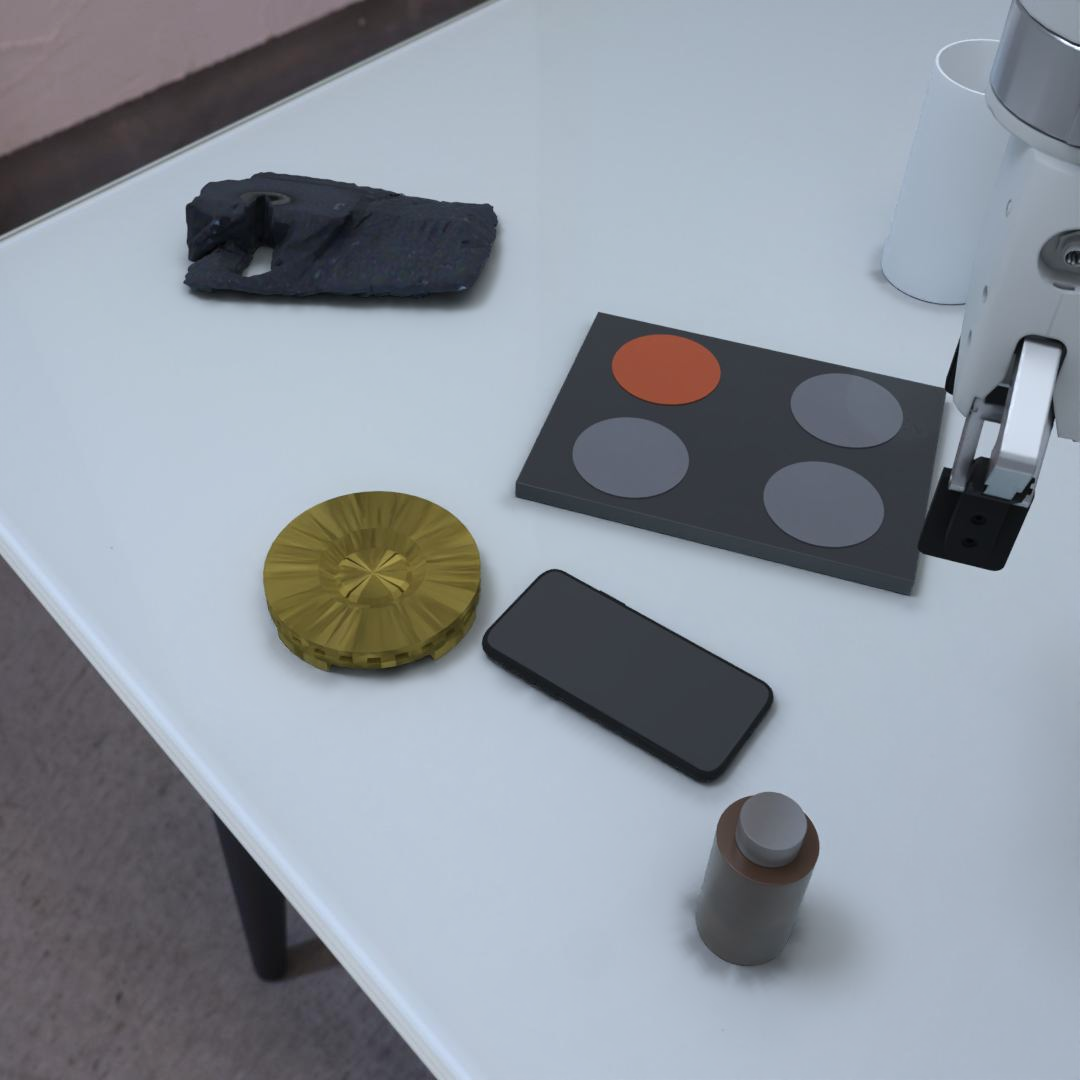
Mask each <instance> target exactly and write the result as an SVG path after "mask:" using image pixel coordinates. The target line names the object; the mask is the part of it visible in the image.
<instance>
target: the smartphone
mask: <svg viewBox="0 0 1080 1080" xmlns="http://www.w3.org/2000/svg"><path fill="white" fill-rule="evenodd" d="M481 647H482V650H483V652H484V653H485V654H486V655H487V656H488V657H490V658H491V659H492V660H494V661H496V662H497V663H499V664H501V665H502V666H503V667H504V668H505V669H507V670H509V671H512V672H515V673H516V674H518V676H519V677H521V678H523V679H524V680H526V681H527V682H529V683H531V684H533V685H534V686H538V687H540V689H541V690H543V691H544V692H546V693H548V694H550V695H551V696H553V697H554V698H556V699H557V698H558V699H560V700H562V701H563V702H565V703H567V704H568V705H570V706H572V707H573V708H575V709H577V710H579V711H580V712H582V713H584V714H585V715H587V716H588V717H591V718H592V719H594V720H596V721H597V722H599V723H601V724H602V725H604V726H606V727H607V728H608V729H611V730H613V731H614V732H616V733H617V734H619V735H621V736H623V737H624V738H626V739H627V740H629V741H631V742H633V743H634V744H636V745H638V746H639V747H641V748H642V749H645V750H647V752H650V753H652V755H655V756H657V757H658V758H660V759H662V760H663V761H664V762H667V763H668V764H670V765H671V766H673V767H675V768H677V769H679V770H680V771H682V772H684V773H685V774H687V775H689V776H690V777H691V778H693V779H695V780H698V781H700V782H701V781H702V782H705V783H707V782H712V781H714V780H717V779H718V778H720V777H721V776H722V775H723V774H724V773H725V772H726V771H727V769H728V768H729V766H730V765H731V764H732V762H733V761H734V759H735V758H736V757H737V755H738V754H739V753H740V751H741V750H742V748H743V747H744V746H745V744H746V743H747V742H748V740H749V739H750V737H751V736H752V735H753V733H754V732H755V730H756V729H757V728H758V726H759V725H760V724H761V722H762V721H763V720H764V718H765V716H766V715H767V714H768V712H769V711H770V709H771V708H772V706H773V702H774V691H773V688H772V687H771V686H770V685H769V684H768V683H767V682H766V681H764V680H762V679H761V678H758V677H756V675H753V674H751V673H750V672H748V671H746V670H744V669H743V668H741V667H739V666H737V665H735V664H733V663H732V662H730V661H728V660H727V659H724V658H722V657H721V656H718V655H717V654H715V653H713V652H712V651H710V650H708V649H706V648H704V647H703V646H701V645H699V644H697V643H695V642H694V641H692V640H690V639H688V638H686V637H685V636H682V635H681V634H679V633H677V632H675V631H673V629H672V630H671V629H670V628H668V627H666V626H664V625H663V624H661V623H659V622H657V621H656V620H654V619H652V618H650V617H648V616H646V615H645V614H643V613H641V612H639V611H638V610H635V609H633V607H630V606H629V605H627V604H626V603H625V602H623V601H621V600H619V599H618V598H616V597H614V596H612V595H610V594H608V593H606V592H604V591H603V590H602V589H600V590H599V589H598V588H596V587H593V585H590V584H588V583H587V582H584V581H583V580H581V579H579V578H577V577H575V576H574V575H572V574H570V573H569V572H567V571H565V570H563V569H559V568H550V569H548V570H547V569H546V570H545V571H544V572H542V573H541V574H539V575H538V576H537V577H536V578H535V579H534V580H533V581H532V582H531V583H530V584H529V585H528V586H527V587H526V588H525V589H524V590H523V592H521V594H520V595H519V596H518V597H517V598H516V599H515V600H513V602H512V603H511V604H510V605H509V606H508V607H507V608H506V609H505V611H503V612H502V613H501V614H500V616H498V617H497V619H496V620H495V621H494V622H493V623H492V624H491V625H490V626H489V627H488V628H487V629H486V630H485V632H484V634H483V636H482V639H481Z"/></svg>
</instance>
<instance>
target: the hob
mask: <svg viewBox="0 0 1080 1080" xmlns="http://www.w3.org/2000/svg"><path fill="white" fill-rule="evenodd" d="M947 394H948V392H947V391H946V390H945V387H941V386H936V385H932V384H927V383H922V382H918V381H913V380H909V379H904V378H900V377H895V376H891V375H887V374H881V373H877V372H874V371H869V370H864V369H859V368H856V367H855V368H854V367H850V366H847V365H841V364H837V363H833V362H828V361H824V360H819V359H814V358H810V357H806V356H802V355H796V354H791V353H787V352H783V351H779V350H774V349H769V348H764V347H760V346H755V345H751V344H747V343H741V342H737V341H733V340H728V339H724V338H719V337H716V336H710V335H705V334H701V333H698V332H697V333H696V332H692V331H688V330H684V329H679V328H674V327H670V326H665V325H661V324H656V323H651V322H647V321H643V320H637V319H634V318H629V317H624V316H619V315H615V314H611V313H606V312H601V311H597V313H596V316H595V318H594V319H593V322H592V324H591V326H590V328H589V330H588V332H587V334H586V336H585V338H584V340H583V342H582V344H581V346H580V348H579V350H578V352H577V355H576V357H575V359H574V361H573V363H572V364H571V367H570V369H569V371H568V373H567V375H566V377H565V379H564V381H563V384H562V385H561V388H560V389H559V392H558V394H557V396H556V398H555V400H554V402H553V405H552V406H551V408H550V410H549V413H548V415H547V417H546V418H545V420H544V423H543V424H542V427H541V429H540V431H539V434H538V435H537V437H536V440H534V444H533V446H532V448H531V450H530V452H529V454H528V456H527V458H526V459H525V462H524V464H523V465H522V468H521V470H520V472H519V475H518V477H517V478H516V481H515V487H514V488H515V491H514V497H517V498H520V499H525V500H529V501H533V502H535V503H536V502H537V503H541V504H544V505H548V506H553V507H556V508H561V509H565V510H569V511H573V512H577V513H580V514H583V515H589V516H593V517H597V518H600V519H604V520H608V521H612V522H616V523H620V524H624V525H628V526H633V527H635V528H639V529H640V528H641V529H644V530H648V531H652V532H656V533H660V534H664V535H668V536H672V537H676V538H681V539H684V540H687V541H691V542H695V543H699V544H704V545H707V546H712V547H714V548H715V547H716V548H720V549H723V550H728V551H731V552H736V553H740V554H744V555H748V556H751V557H756V558H760V559H763V560H767V561H771V562H775V563H780V564H782V565H787V566H791V567H795V568H799V569H803V570H806V571H811V572H815V573H818V574H822V575H823V574H824V575H827V576H831V577H835V578H839V579H843V580H847V581H851V582H855V583H858V584H862V585H863V584H864V585H867V586H871V587H875V588H880V589H883V590H886V591H890V592H894V593H898V594H903V595H906V596H910V595H911V593H912V591H913V588H914V585H915V582H916V577H917V570H918V565H919V559H920V553H921V552H920V551H919V550H918V540H919V535H920V532H921V530H922V527H923V524H924V521H925V518H926V515H927V513H928V506H929V500H930V494H931V487H932V481H933V476H934V469H935V464H936V457H937V452H938V446H939V439H940V434H941V429H942V428H941V427H942V422H943V416H944V410H945V404H946V399H947Z"/></svg>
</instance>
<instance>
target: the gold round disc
mask: <svg viewBox="0 0 1080 1080" xmlns="http://www.w3.org/2000/svg"><path fill="white" fill-rule="evenodd" d="M481 563H482V562H481V555H480V552H479V548H478V545H477V542H476V540H475V538H474V537H473V535H472V533H471V532H470V531H469V529H468V528H467V526H466V525H465V524H464V523H463V522H462V521H461V520H460V519H459V517H457V516H455V514H453V513H451V512H450V511H449V510H447V509H446V508H444V507H443V506H441V505H440V504H438V503H436V502H433V501H431V500H428V499H427V498H423V497H420V496H417V495H413V494H409V493H403V492H396V491H389V490H388V491H387V490H386V491H385V490H371V491H368V490H367V491H359V492H352V493H348V494H343V495H339V496H336V497H333V498H330V499H327V500H324V501H322V502H320V503H317V504H315V505H314V506H311V507H309V508H308V509H306V510H304V511H303V512H301V513H300V514H299V515H297V516H296V517H294V518H293V519H292V520H291V521H290V522H288V523H287V525H285V527H283V529H282V530H281V531H280V532H279V533H278V534H277V536H276V537H275V539H274V540H273V541H272V543H271V546H270V547H269V549H268V551H267V554H266V557H265V560H264V565H263V572H262V582H263V583H262V585H263V588H264V595H265V599H266V605H267V610H268V613H269V615H270V618H271V620H272V623H274V626H275V627H276V629H277V632H278V633H277V634H278V638H279V639H280V641H281V642H282V643H283V644H284V646H285V647H286V648H287V649H288V650H289V651H291V653H293V654H294V655H295V656H297V657H298V658H299V659H300V660H302V661H304V662H305V663H307V664H309V665H311V666H312V667H314V668H317V669H320V670H321V671H322V670H323V671H325V672H329V671H330V669H331V667H332V665H333V666H337V667H342V668H348V669H359V670H360V669H361V670H373V669H387V668H392V667H399V666H402V665H406V664H409V663H412V662H415V661H418V660H420V659H423V658H425V657H427V656H431V658H432V659H433V661H437V660H439V659H440V658H442V657H443V656H444V655H446V654H447V653H448V652H450V651H451V650H452V649H454V647H456V646H457V645H458V644H459V642H461V641H462V640H463V638H464V637H465V636H466V635H467V633H468V632H469V631H470V629H471V627H472V626H473V624H474V622H475V620H476V614H477V613H476V611H477V610H476V609H477V606H478V604H479V600H480V595H481V589H482V582H481V581H482V571H481V569H482V566H481V565H482V564H481Z"/></svg>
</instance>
